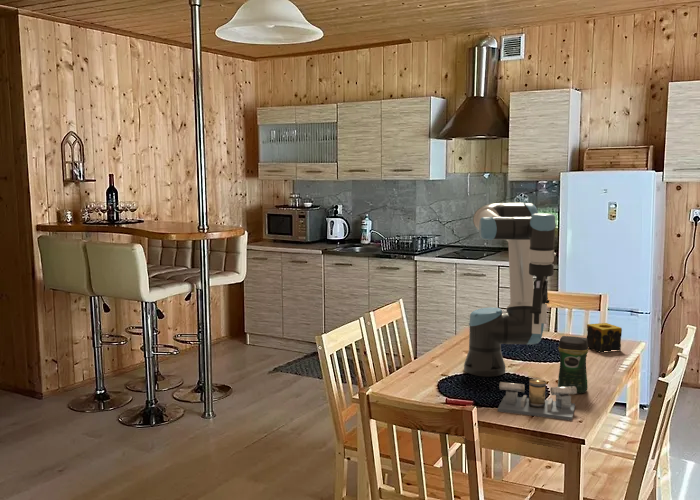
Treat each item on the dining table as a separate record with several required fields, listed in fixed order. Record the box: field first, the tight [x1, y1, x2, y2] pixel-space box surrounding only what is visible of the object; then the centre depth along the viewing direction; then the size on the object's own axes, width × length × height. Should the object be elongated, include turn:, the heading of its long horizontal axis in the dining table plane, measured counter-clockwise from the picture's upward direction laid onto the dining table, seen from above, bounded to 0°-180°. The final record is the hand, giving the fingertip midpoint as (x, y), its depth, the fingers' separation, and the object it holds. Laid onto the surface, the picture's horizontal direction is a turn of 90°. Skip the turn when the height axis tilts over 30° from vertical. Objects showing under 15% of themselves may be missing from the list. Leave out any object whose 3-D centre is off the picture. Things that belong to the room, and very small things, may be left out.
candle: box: [586, 322, 623, 353], centre depth 285 cm, size 10×10×10 cm
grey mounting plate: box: [497, 394, 576, 421], centre depth 214 cm, size 22×13×3 cm, turn 68°
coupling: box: [528, 378, 547, 408], centre depth 214 cm, size 5×5×8 cm
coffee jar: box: [557, 335, 589, 394], centre depth 231 cm, size 10×8×19 cm
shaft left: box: [498, 381, 526, 405], centre depth 217 cm, size 8×4×6 cm, turn 68°
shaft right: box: [550, 386, 578, 409], centre depth 213 cm, size 8×4×6 cm, turn 98°
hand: (539, 328), depth 219 cm, fingers open, 13 cm apart
